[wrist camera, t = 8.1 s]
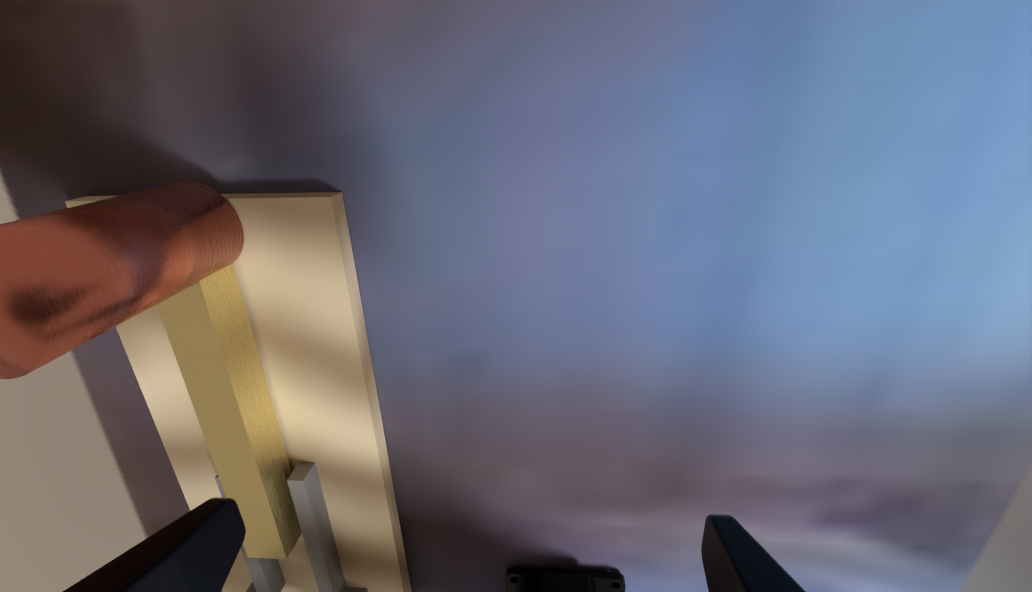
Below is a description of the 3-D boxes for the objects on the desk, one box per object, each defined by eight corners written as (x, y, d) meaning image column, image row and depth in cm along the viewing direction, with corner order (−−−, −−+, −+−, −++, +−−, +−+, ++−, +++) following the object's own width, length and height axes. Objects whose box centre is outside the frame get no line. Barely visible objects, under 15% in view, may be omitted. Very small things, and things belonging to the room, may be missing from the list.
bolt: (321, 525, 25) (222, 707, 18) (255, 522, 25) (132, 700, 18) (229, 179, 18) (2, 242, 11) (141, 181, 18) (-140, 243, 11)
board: (418, 628, 30) (378, 783, 23) (250, 618, 31) (165, 763, 24) (342, 191, 19) (226, 246, 12) (87, 196, 20) (-146, 248, 13)
